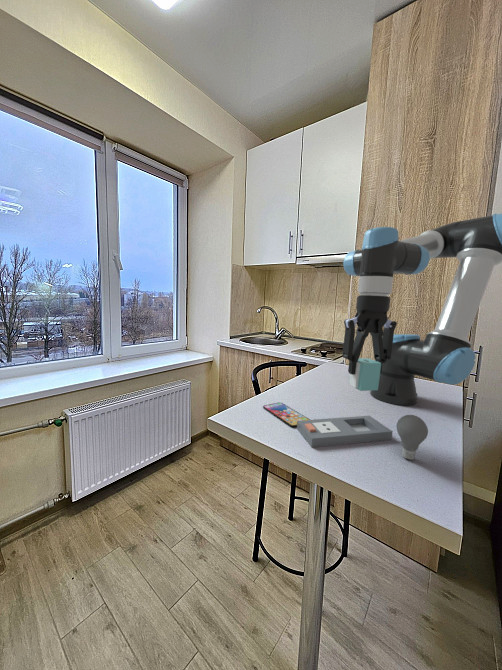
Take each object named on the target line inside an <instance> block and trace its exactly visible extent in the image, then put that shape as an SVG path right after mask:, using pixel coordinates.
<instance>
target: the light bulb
mask: <svg viewBox="0 0 502 670" xmlns="http://www.w3.org/2000/svg"><path fill="white" fill-rule="evenodd" d="M396 431H397V434H398V435H399V438H400V442H401V446H402V448H401V449H402V450H401V456H402V457H403V458H405V459H406V460H414V459H415V458H416V451H417V450H418V449H419V446H420V445H421V444H422V443H423V442H424V441H425V440H426V439H427V437H428V434H429V429H428V426H427V423H426V422H425V421H424V420H423V419H422V418H421V417H419V416H417V415H413V414H406V415H403V416H401V417H400V418H399V419H398V420H397V422H396Z"/></svg>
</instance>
